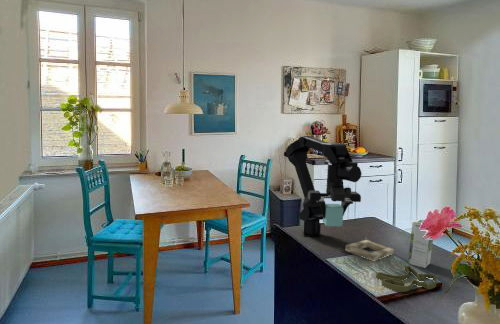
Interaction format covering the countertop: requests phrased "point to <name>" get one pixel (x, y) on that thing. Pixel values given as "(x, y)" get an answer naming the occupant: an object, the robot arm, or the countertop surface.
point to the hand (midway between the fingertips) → (332, 218)
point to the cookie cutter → (399, 285)
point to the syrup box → (419, 247)
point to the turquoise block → (333, 215)
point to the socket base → (380, 249)
